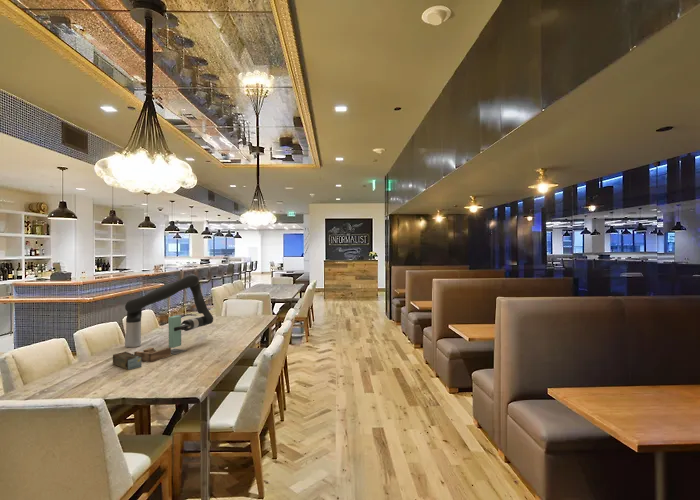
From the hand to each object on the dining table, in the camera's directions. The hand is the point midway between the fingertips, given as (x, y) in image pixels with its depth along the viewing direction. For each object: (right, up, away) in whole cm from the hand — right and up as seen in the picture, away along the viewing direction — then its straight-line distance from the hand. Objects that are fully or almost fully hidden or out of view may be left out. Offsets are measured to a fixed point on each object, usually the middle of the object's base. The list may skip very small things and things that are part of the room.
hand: (171, 329), depth 251 cm
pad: (+1, -16, +2) cm, 16 cm away
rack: (-6, -15, -11) cm, 20 cm away
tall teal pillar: (+1, -12, +3) cm, 12 cm away
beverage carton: (-13, -16, -28) cm, 35 cm away
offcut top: (-9, -12, -12) cm, 19 cm away
